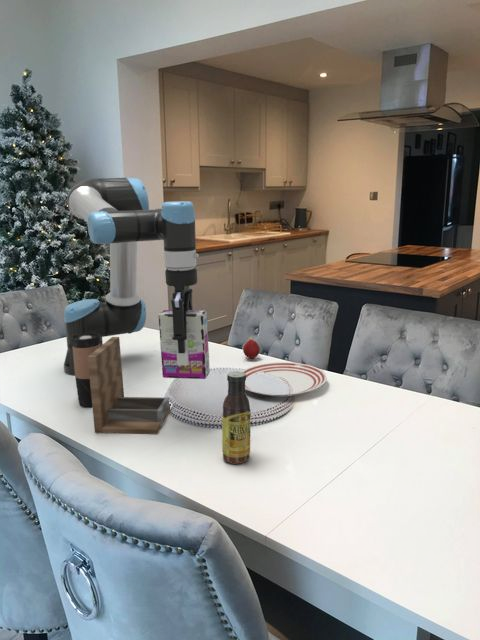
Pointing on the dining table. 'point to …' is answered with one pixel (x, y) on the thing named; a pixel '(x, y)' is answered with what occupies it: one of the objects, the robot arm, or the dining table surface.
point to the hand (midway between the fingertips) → (185, 360)
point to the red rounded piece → (251, 349)
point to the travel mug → (84, 365)
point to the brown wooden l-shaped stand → (120, 397)
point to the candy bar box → (196, 346)
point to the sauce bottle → (236, 420)
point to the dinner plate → (291, 376)
